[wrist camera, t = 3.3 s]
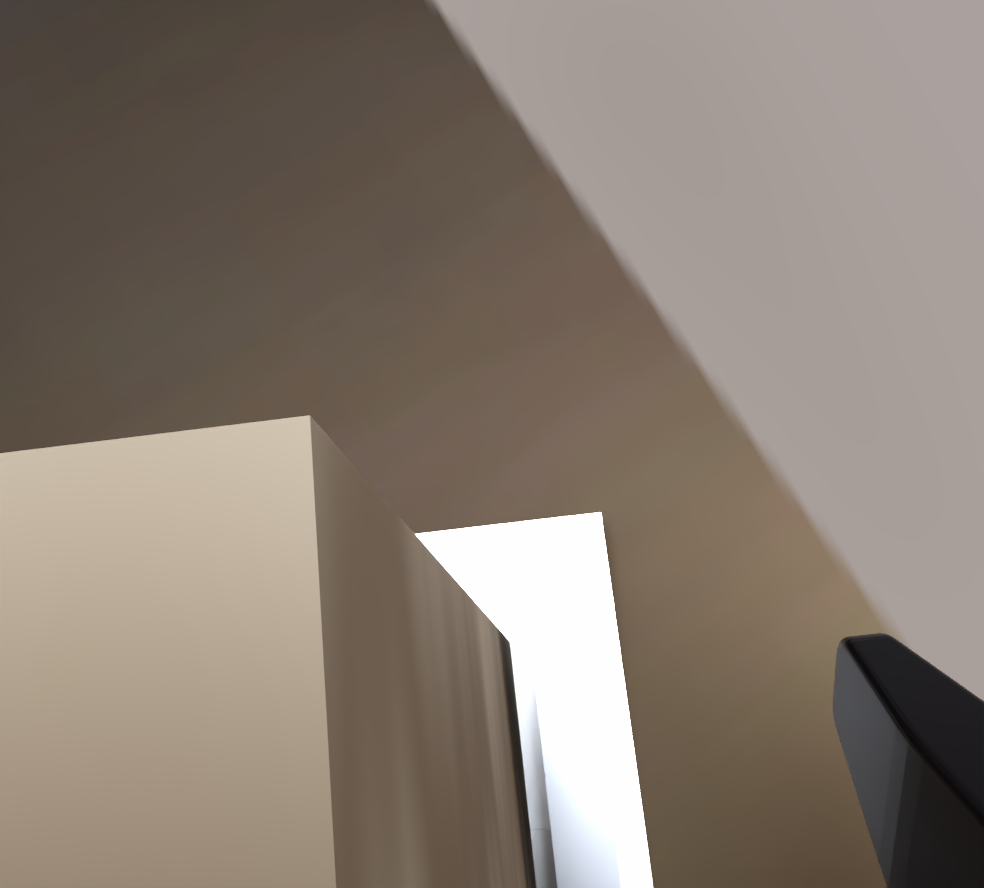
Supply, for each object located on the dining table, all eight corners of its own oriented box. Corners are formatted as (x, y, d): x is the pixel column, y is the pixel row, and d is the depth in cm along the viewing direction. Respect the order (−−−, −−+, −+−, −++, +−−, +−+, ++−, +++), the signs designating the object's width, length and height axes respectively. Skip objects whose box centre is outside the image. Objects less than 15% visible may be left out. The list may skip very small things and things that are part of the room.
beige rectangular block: (538, 902, 15) (406, 2120, 2) (385, 918, 15) (-615, 2168, 2) (509, 641, 16) (310, 414, 3) (368, 657, 16) (-370, 498, 3)
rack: (666, 1014, 15) (703, 1124, 11) (296, 1050, 15) (206, 1169, 11) (598, 522, 17) (609, 471, 13) (274, 560, 17) (193, 520, 13)
